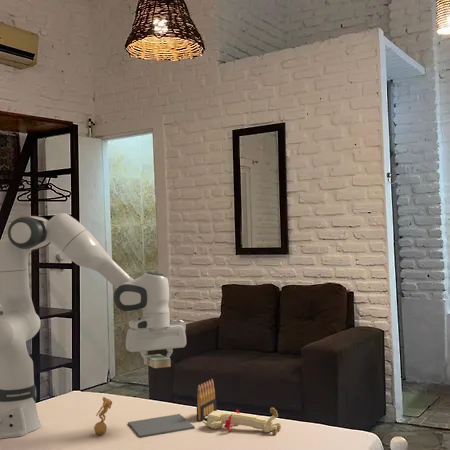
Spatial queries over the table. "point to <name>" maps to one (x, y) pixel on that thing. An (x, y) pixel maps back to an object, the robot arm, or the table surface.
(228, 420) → the cat figure
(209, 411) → the ammunition clip
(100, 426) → the figurine
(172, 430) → the rubber mat
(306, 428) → the table surface
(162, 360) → the pale green streaked tile
